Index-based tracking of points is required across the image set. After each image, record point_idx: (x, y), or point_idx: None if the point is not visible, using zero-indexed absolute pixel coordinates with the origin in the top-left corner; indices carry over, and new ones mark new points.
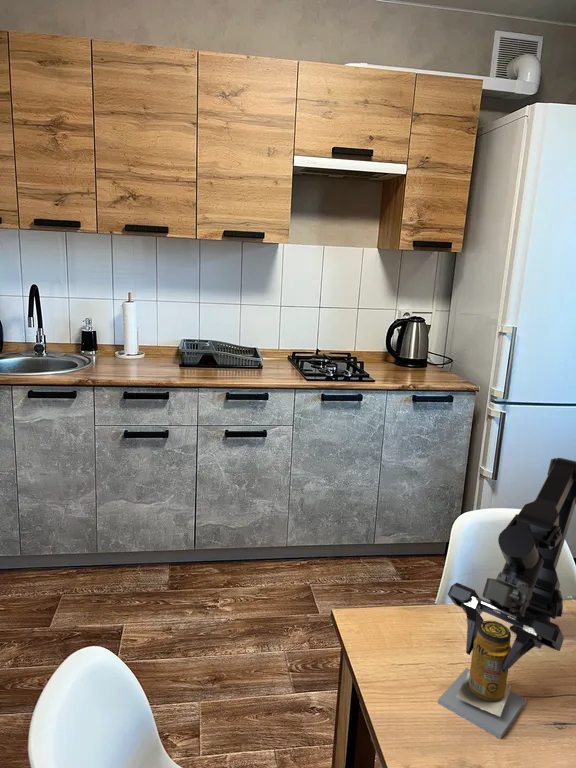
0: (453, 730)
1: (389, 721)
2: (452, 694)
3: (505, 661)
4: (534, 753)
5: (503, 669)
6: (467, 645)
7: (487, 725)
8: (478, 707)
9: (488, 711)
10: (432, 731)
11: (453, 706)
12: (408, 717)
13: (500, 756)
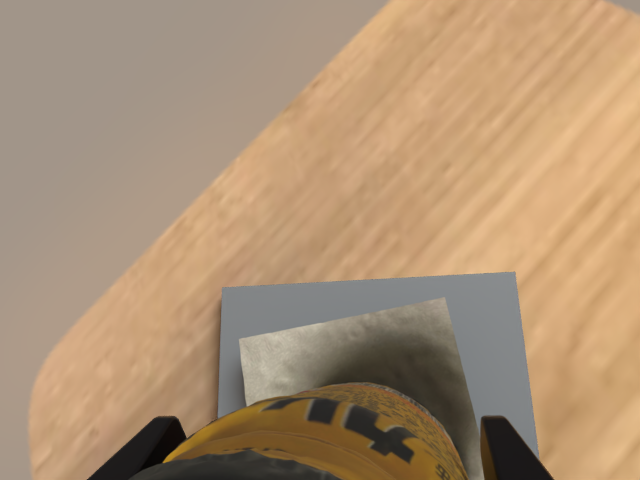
0: (378, 194)
1: (579, 44)
2: (486, 352)
3: (130, 471)
4: (120, 320)
5: (159, 417)
6: (529, 463)
7: (280, 291)
8: (334, 322)
9: (290, 332)
10: (432, 130)
11: (438, 283)
12: (542, 114)
13: (204, 217)
